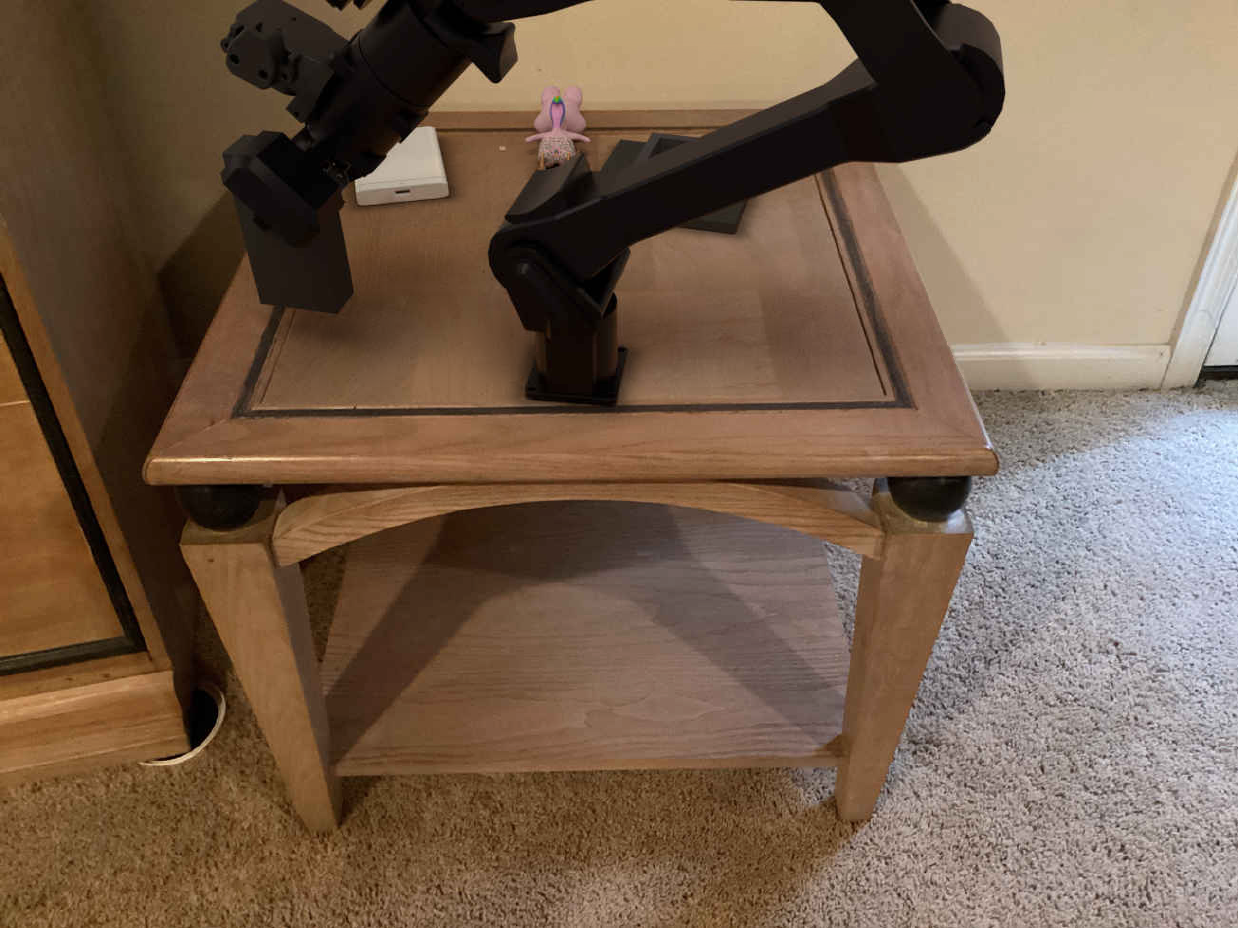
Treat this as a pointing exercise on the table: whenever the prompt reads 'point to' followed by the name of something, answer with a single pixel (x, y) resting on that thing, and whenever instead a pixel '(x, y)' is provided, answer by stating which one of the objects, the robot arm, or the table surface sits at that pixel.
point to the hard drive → (407, 172)
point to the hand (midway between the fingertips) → (271, 213)
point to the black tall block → (295, 260)
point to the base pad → (657, 144)
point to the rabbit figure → (558, 125)
